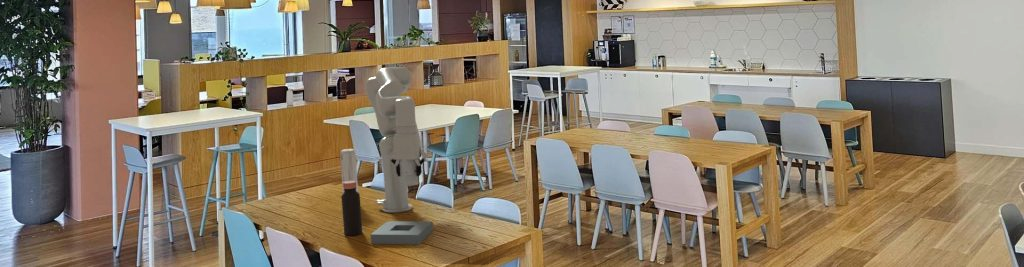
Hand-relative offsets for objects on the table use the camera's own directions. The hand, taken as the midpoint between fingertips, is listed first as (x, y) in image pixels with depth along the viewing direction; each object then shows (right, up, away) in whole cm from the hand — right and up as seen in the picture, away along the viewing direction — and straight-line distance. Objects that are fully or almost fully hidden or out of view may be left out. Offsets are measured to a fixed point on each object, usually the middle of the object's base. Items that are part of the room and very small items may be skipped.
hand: (409, 175), depth 299 cm
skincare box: (0, -4, +1) cm, 4 cm away
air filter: (-30, -16, +38) cm, 51 cm away
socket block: (0, -22, -15) cm, 26 cm away
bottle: (-20, -22, -7) cm, 31 cm away
